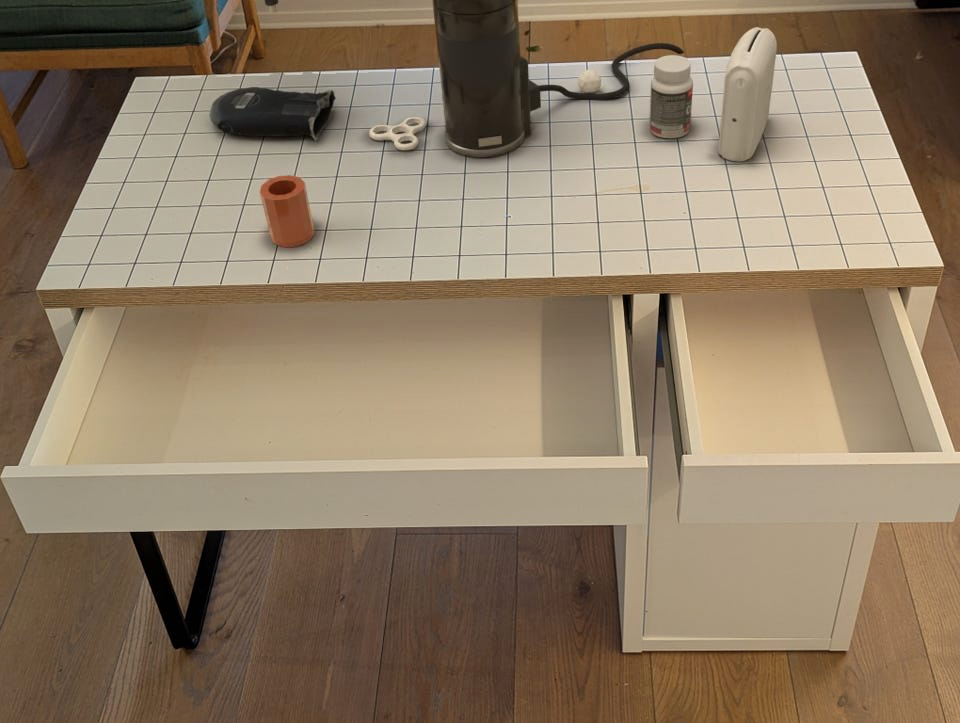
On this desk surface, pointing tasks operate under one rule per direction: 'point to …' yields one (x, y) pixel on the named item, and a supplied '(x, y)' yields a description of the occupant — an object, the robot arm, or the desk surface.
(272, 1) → the dark grey rod
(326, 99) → the electronic device
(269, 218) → the pen holder
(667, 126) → the pill bottle
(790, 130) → the desk surface
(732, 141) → the photo printer
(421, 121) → the fidget spinner
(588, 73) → the polyhedron
